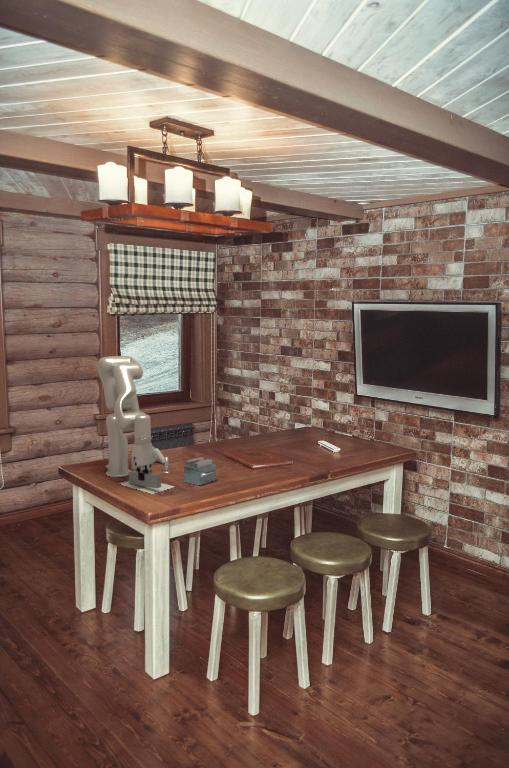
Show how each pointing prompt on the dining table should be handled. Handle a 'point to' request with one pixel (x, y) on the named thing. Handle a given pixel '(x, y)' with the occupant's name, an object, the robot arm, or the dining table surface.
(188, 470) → the grey metal pieces
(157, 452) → the wall hook
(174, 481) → the dining table surface
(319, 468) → the dining table surface
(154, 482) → the crook
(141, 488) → the mat
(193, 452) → the dining table surface
